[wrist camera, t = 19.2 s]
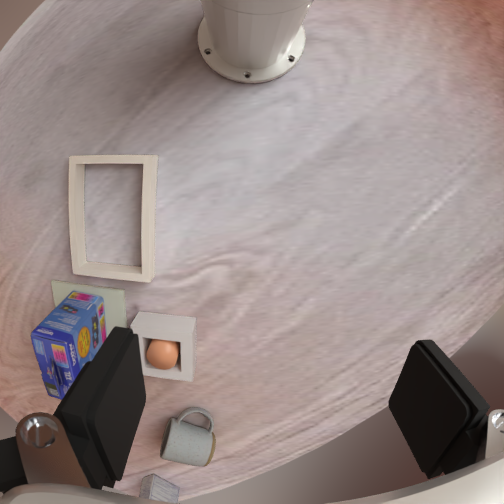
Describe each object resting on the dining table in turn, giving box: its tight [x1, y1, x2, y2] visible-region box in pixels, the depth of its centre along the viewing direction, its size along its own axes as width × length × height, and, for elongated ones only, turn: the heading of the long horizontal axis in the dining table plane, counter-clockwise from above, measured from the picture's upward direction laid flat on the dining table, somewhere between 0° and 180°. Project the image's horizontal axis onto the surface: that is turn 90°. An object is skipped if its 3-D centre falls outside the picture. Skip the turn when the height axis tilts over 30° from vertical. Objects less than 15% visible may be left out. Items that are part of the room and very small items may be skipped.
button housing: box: [130, 311, 196, 382], centre depth 39 cm, size 8×8×4 cm
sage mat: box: [51, 280, 127, 337], centre depth 40 cm, size 12×12×1 cm
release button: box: [147, 339, 181, 370], centre depth 39 cm, size 4×4×4 cm
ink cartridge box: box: [31, 291, 107, 400], centre depth 33 cm, size 10×6×14 cm, turn 173°
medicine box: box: [139, 474, 180, 503], centre depth 49 cm, size 8×4×9 cm, turn 39°
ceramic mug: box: [160, 407, 216, 466], centre depth 43 cm, size 11×8×8 cm
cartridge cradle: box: [69, 155, 158, 283], centre depth 34 cm, size 15×11×2 cm
